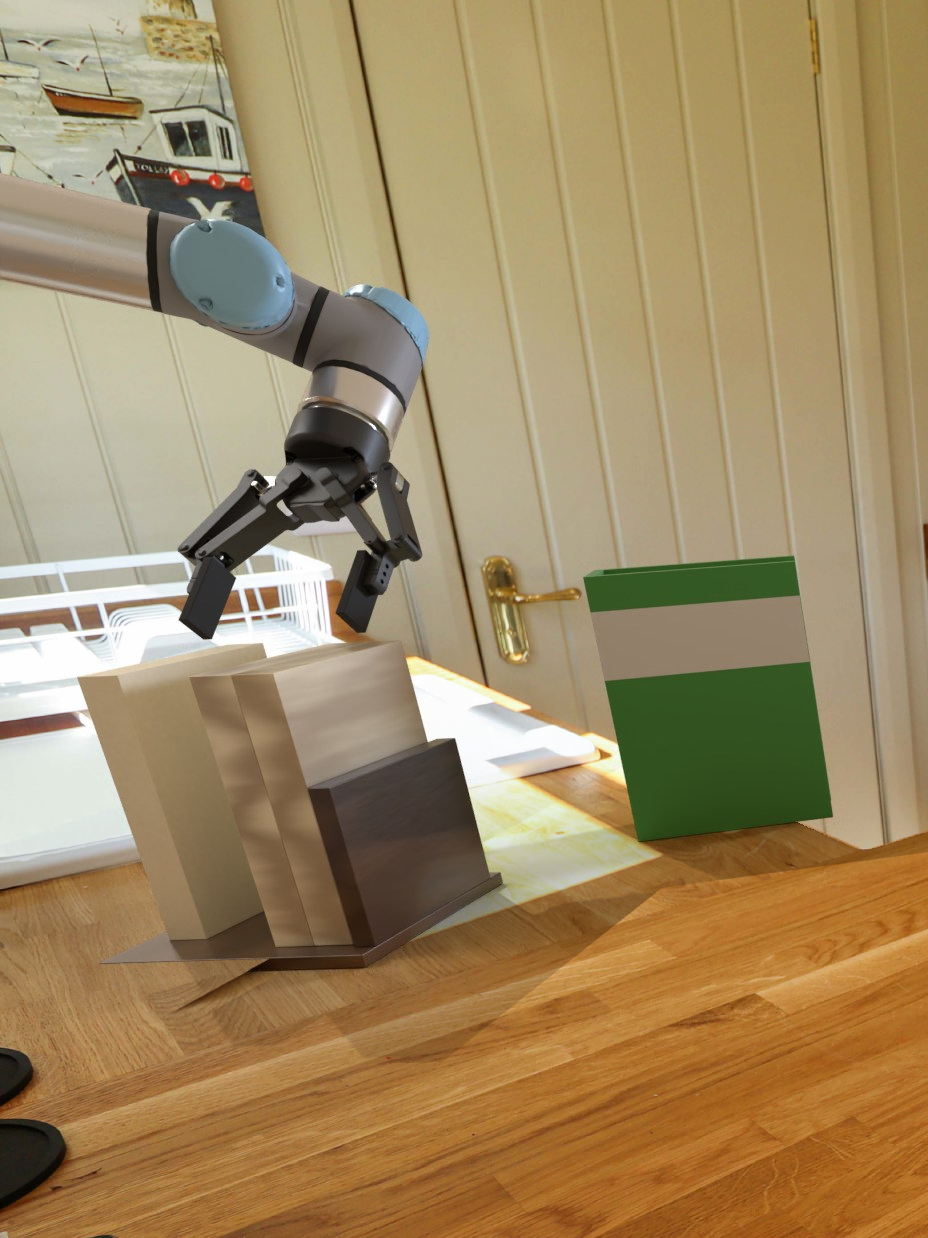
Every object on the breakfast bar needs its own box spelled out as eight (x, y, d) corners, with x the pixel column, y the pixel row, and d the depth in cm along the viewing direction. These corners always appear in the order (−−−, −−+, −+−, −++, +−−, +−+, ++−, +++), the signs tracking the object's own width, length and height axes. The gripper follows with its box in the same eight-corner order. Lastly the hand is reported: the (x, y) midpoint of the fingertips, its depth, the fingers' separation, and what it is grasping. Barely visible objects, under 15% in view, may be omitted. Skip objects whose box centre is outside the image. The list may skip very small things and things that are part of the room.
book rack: (102, 975, 92) (-5, 689, 85) (279, 890, 109) (202, 645, 102) (365, 967, 91) (279, 677, 84) (503, 882, 108) (441, 634, 101)
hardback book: (831, 798, 128) (794, 555, 120) (833, 817, 122) (794, 561, 113) (646, 820, 124) (594, 569, 116) (638, 841, 117) (583, 577, 109)
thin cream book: (169, 940, 95) (76, 676, 89) (299, 878, 109) (227, 644, 102) (206, 939, 95) (116, 675, 88) (332, 877, 108) (263, 642, 102)
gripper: (500, 457, 117) (443, 647, 108) (244, 471, 118) (166, 658, 109) (452, 394, 110) (387, 591, 101) (181, 409, 112) (93, 604, 103)
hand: (272, 626), depth 105 cm, fingers open, 13 cm apart
